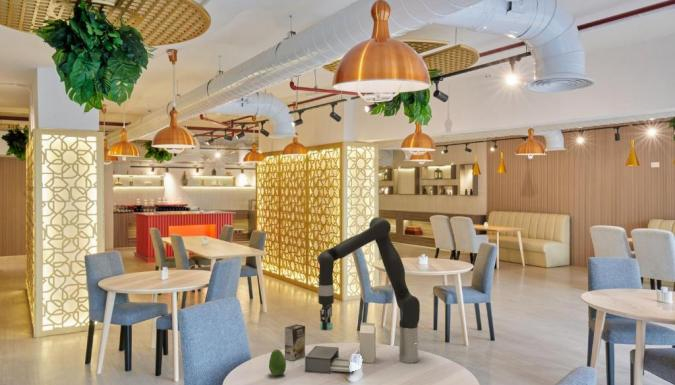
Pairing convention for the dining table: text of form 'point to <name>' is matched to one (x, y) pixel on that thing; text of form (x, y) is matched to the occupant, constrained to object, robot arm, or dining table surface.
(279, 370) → the avocado
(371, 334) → the milk carton
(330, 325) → the disc
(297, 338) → the coffee box
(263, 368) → the dining table surface
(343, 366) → the tray
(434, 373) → the dining table surface
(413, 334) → the robot arm
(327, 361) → the player housing
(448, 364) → the dining table surface
